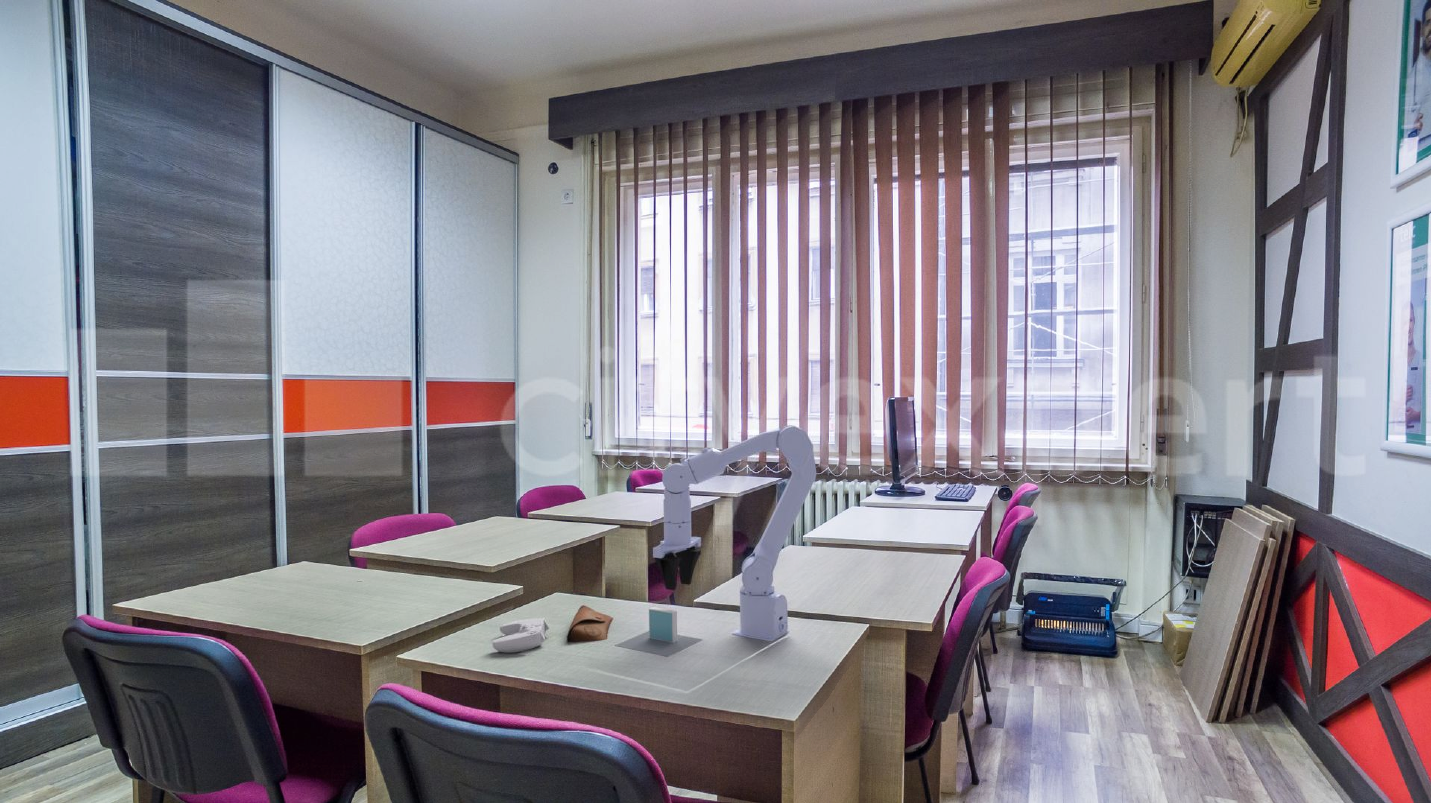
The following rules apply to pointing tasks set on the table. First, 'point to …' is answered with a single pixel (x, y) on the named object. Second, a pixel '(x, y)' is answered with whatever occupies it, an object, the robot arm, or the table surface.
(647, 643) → the mat
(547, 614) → the table surface
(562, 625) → the table surface
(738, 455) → the robot arm
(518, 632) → the game controller
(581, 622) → the sunglasses case
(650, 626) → the tile
